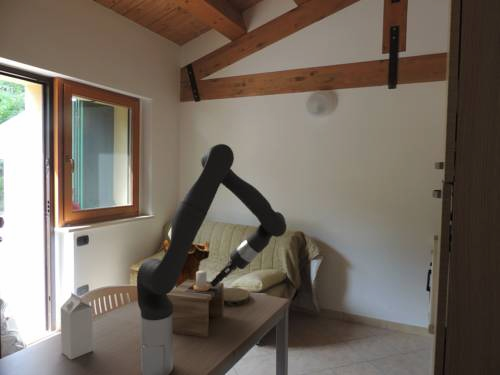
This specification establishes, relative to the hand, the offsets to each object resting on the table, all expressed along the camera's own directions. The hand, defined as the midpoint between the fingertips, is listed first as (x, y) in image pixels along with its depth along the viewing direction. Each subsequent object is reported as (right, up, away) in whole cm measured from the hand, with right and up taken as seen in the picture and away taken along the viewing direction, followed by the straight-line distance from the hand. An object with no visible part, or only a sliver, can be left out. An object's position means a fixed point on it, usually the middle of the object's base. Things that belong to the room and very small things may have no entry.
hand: (216, 281), depth 130 cm
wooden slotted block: (-8, -17, +3) cm, 19 cm away
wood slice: (+5, -17, +28) cm, 33 cm away
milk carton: (-44, -18, -18) cm, 51 cm away
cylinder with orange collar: (-6, -13, +2) cm, 14 cm away
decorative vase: (-17, -16, +32) cm, 39 cm away
